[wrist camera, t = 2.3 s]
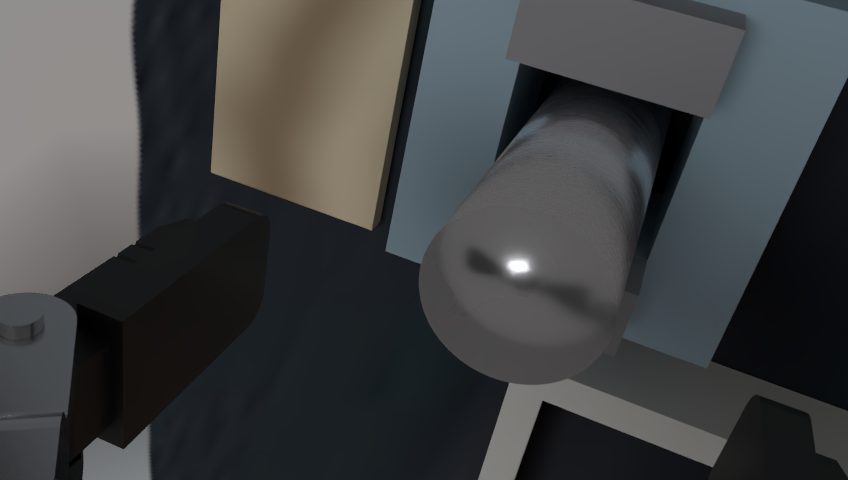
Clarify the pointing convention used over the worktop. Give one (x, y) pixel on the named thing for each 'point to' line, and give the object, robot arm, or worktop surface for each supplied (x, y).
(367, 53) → the rest board
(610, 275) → the steel pin
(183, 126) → the worktop surface
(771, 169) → the vise block
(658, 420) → the frame
